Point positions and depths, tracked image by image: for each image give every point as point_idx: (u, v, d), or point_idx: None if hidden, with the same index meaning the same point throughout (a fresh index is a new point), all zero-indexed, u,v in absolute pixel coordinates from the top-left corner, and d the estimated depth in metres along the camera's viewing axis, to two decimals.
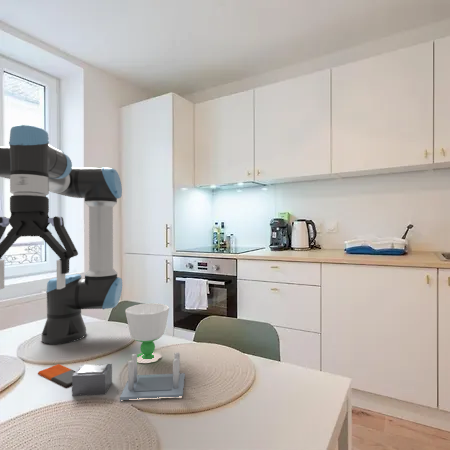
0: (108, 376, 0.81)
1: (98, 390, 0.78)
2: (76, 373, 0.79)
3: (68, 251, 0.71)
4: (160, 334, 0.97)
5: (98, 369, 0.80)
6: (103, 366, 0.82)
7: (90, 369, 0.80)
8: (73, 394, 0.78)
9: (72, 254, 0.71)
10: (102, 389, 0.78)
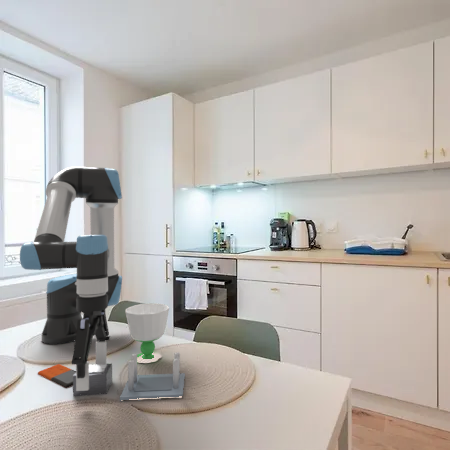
0: (109, 376, 0.81)
1: (100, 390, 0.78)
2: None
3: None
4: (160, 334, 0.97)
5: (99, 369, 0.80)
6: (103, 366, 0.82)
7: (91, 369, 0.80)
8: (74, 394, 0.77)
9: (71, 362, 0.71)
10: (103, 389, 0.78)
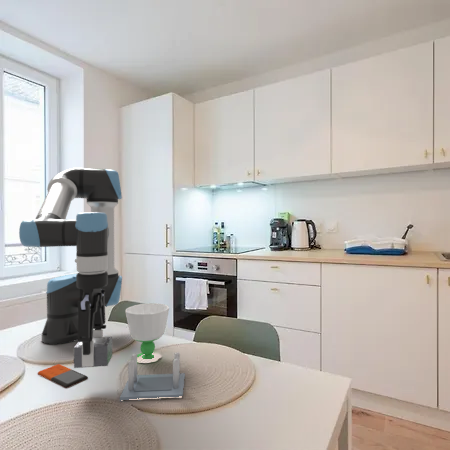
0: (109, 348, 0.82)
1: (101, 361, 0.79)
2: (77, 345, 0.79)
3: None
4: (160, 334, 0.97)
5: (99, 341, 0.81)
6: (104, 338, 0.83)
7: None
8: (75, 366, 0.78)
9: (77, 340, 0.75)
10: (104, 360, 0.79)
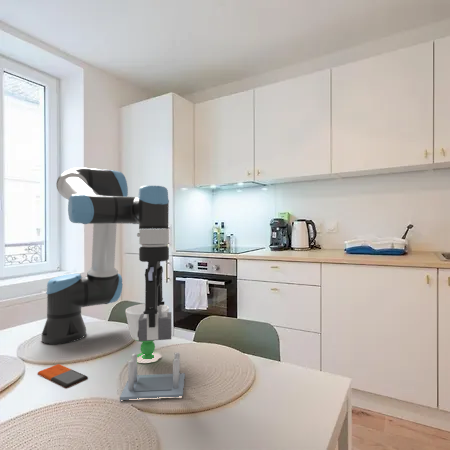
0: None
1: (164, 335, 0.78)
2: (141, 319, 0.79)
3: None
4: None
5: (162, 315, 0.81)
6: (165, 313, 0.82)
7: None
8: (139, 339, 0.77)
9: (145, 311, 0.74)
10: (168, 334, 0.79)
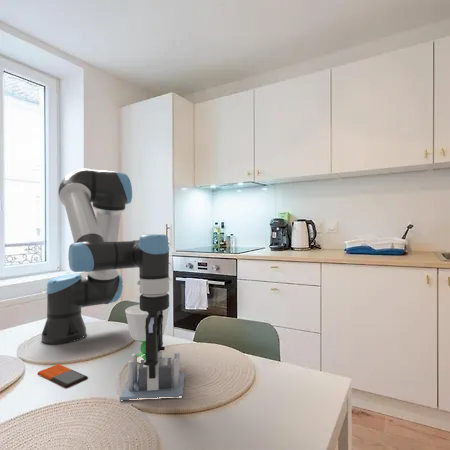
0: None
1: (164, 384, 0.79)
2: (141, 367, 0.79)
3: (146, 359, 0.75)
4: None
5: (162, 363, 0.81)
6: (165, 360, 0.82)
7: None
8: (139, 388, 0.78)
9: (145, 364, 0.75)
10: (168, 383, 0.79)
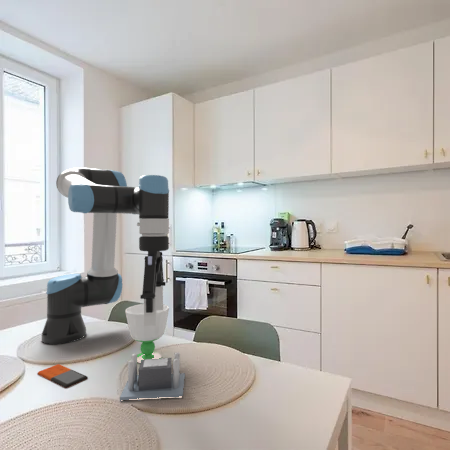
0: None
1: (164, 384, 0.79)
2: (141, 367, 0.79)
3: (143, 291, 0.72)
4: (160, 334, 0.97)
5: (162, 363, 0.81)
6: (165, 360, 0.82)
7: (154, 363, 0.80)
8: (139, 388, 0.78)
9: (142, 295, 0.71)
10: (168, 383, 0.79)
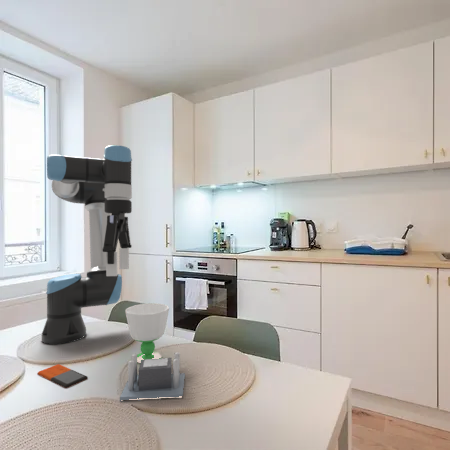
0: None
1: (164, 384, 0.79)
2: (141, 367, 0.79)
3: None
4: (160, 334, 0.97)
5: (162, 363, 0.81)
6: (165, 360, 0.82)
7: (154, 363, 0.80)
8: (139, 388, 0.78)
9: (103, 248, 0.81)
10: (168, 383, 0.79)
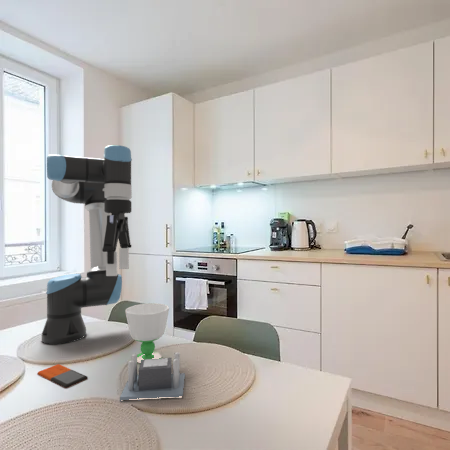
0: None
1: (164, 384, 0.79)
2: (141, 367, 0.79)
3: None
4: (160, 334, 0.97)
5: (162, 363, 0.81)
6: (165, 360, 0.82)
7: (154, 363, 0.80)
8: (139, 388, 0.78)
9: (103, 247, 0.81)
10: (168, 383, 0.79)
